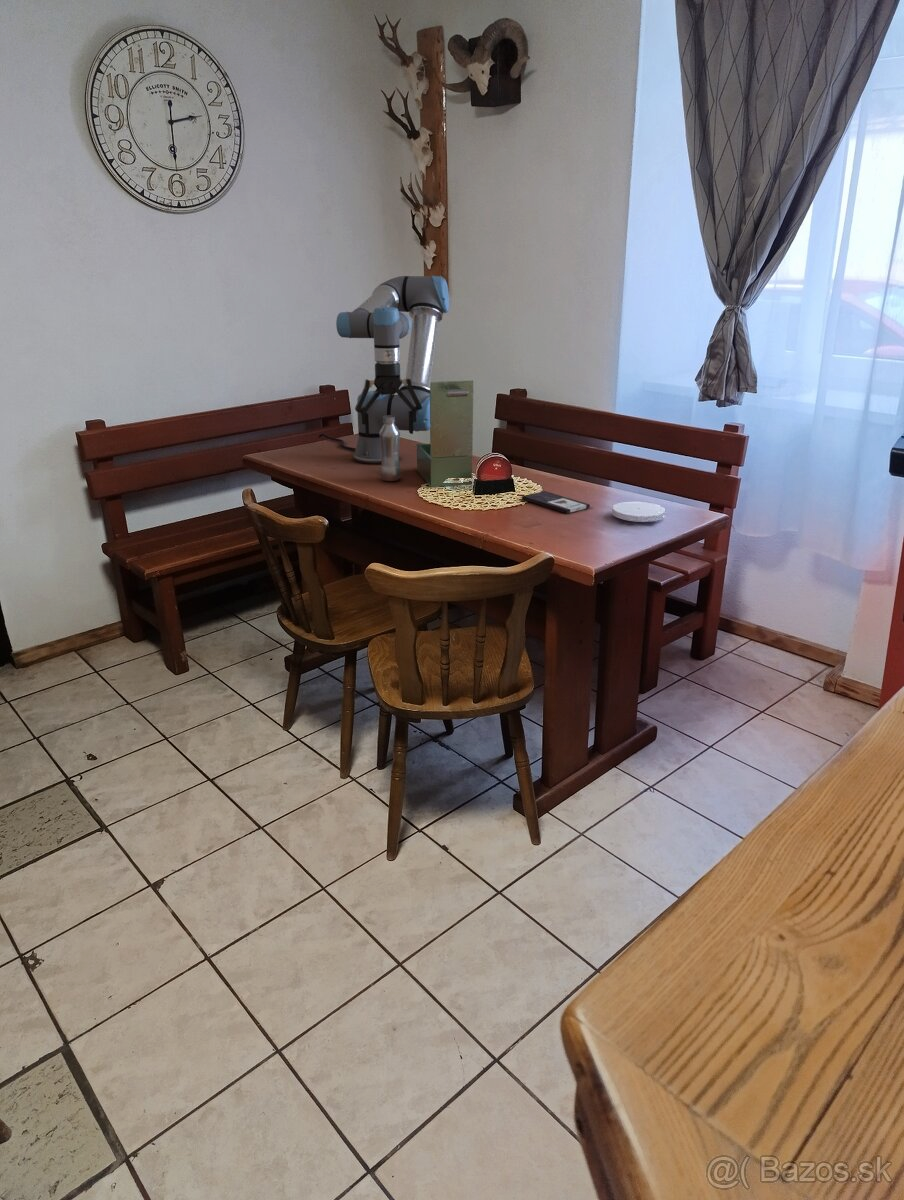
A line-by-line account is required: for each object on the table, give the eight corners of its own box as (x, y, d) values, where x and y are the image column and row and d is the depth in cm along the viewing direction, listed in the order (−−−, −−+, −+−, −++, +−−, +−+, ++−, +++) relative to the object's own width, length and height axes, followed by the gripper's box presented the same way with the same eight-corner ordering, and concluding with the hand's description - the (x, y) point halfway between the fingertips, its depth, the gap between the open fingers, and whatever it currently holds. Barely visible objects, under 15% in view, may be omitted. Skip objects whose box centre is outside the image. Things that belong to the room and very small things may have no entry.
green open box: (417, 470, 267) (416, 444, 264) (455, 468, 270) (455, 442, 267) (431, 487, 248) (430, 458, 245) (471, 484, 251) (472, 456, 247)
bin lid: (429, 382, 236) (435, 386, 229) (472, 380, 238) (479, 384, 232) (430, 457, 245) (435, 463, 238) (471, 454, 248) (478, 461, 241)
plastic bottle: (376, 482, 254) (374, 417, 246) (386, 477, 259) (384, 413, 252) (395, 484, 251) (393, 419, 244) (404, 479, 257) (403, 415, 249)
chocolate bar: (544, 490, 240) (589, 504, 227) (544, 494, 240) (589, 507, 227) (522, 496, 235) (566, 510, 222) (522, 499, 235) (566, 513, 222)
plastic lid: (601, 513, 222) (602, 504, 221) (645, 508, 227) (646, 499, 226) (629, 528, 210) (630, 518, 209) (675, 522, 215) (676, 513, 214)
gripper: (346, 364, 235) (350, 438, 243) (431, 362, 241) (431, 434, 249) (343, 362, 242) (347, 433, 250) (425, 360, 247) (426, 429, 255)
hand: (389, 434), depth 249 cm, fingers open, 13 cm apart
